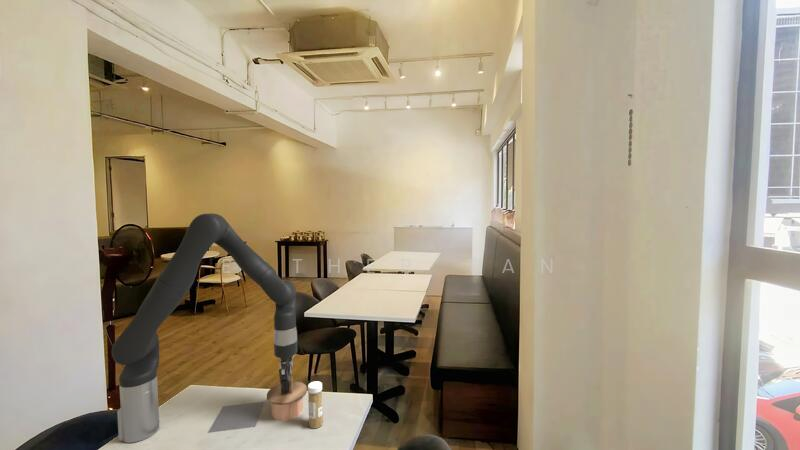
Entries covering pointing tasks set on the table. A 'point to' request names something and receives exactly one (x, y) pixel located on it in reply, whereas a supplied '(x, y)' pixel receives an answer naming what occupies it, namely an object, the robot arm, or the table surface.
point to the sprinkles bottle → (315, 404)
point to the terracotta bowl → (287, 410)
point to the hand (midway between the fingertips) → (286, 388)
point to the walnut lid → (295, 393)
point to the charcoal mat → (237, 417)
